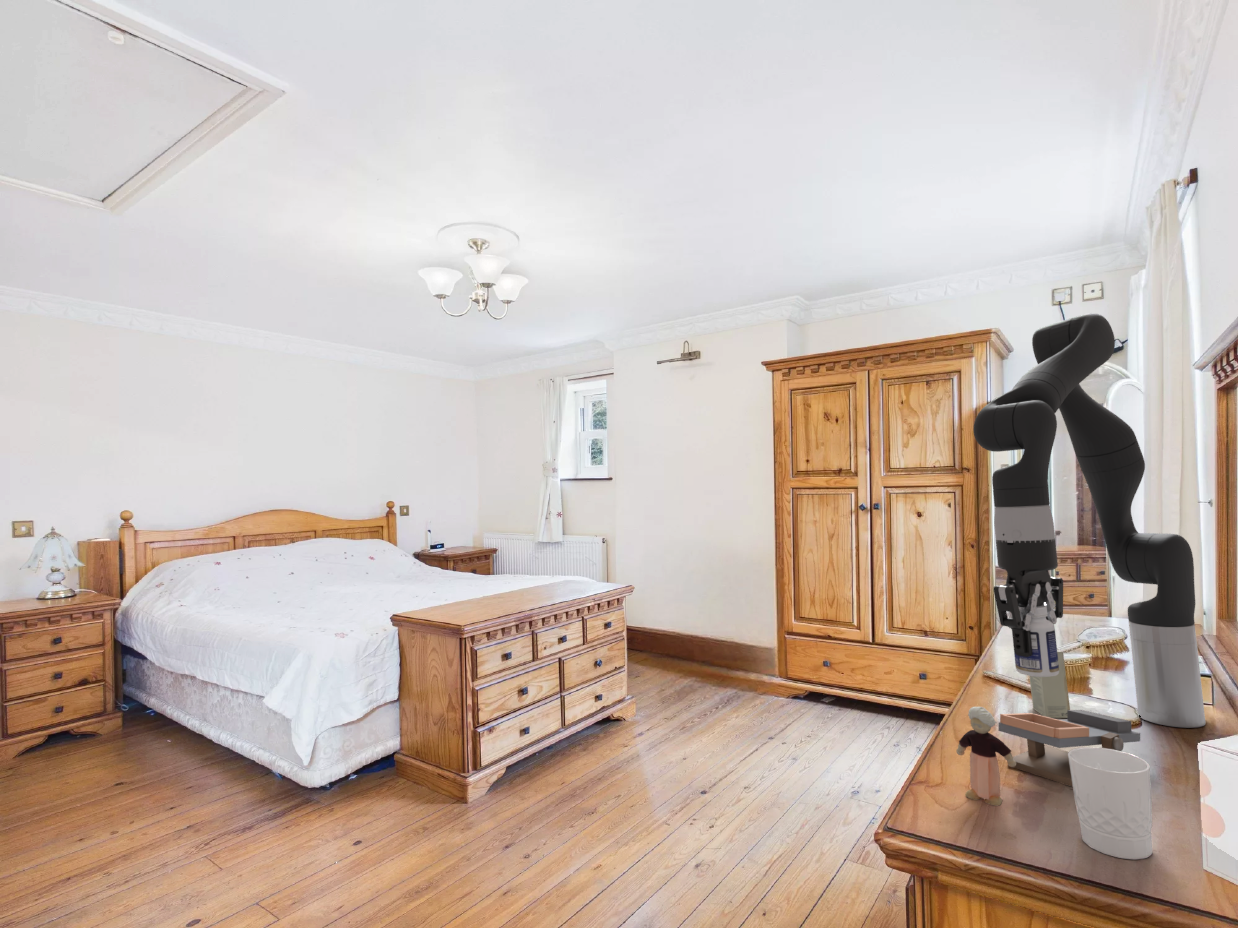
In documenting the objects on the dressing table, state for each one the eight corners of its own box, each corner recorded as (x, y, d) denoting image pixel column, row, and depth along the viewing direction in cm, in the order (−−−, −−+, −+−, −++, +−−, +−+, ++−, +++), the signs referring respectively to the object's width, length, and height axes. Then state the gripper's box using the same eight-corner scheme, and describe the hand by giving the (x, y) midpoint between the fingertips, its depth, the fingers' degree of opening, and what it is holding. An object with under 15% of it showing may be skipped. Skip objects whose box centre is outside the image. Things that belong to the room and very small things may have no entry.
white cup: (1164, 869, 72) (1155, 777, 72) (1078, 852, 76) (1069, 765, 77) (1152, 836, 78) (1143, 752, 79) (1073, 823, 83) (1066, 743, 83)
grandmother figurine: (954, 798, 91) (947, 706, 92) (961, 788, 94) (953, 699, 95) (1018, 812, 86) (1009, 715, 87) (1022, 801, 89) (1014, 707, 90)
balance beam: (1079, 726, 106) (1079, 708, 106) (1140, 741, 98) (1140, 722, 99) (998, 730, 96) (998, 711, 96) (1058, 747, 88) (1058, 726, 89)
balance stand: (1044, 750, 105) (1039, 706, 106) (1146, 780, 93) (1141, 730, 93) (1007, 765, 100) (1003, 719, 101) (1110, 799, 88) (1105, 746, 89)
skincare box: (1071, 718, 119) (1065, 651, 119) (1045, 718, 120) (1038, 652, 120) (1056, 708, 125) (1050, 644, 126) (1030, 707, 126) (1024, 644, 126)
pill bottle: (1046, 667, 97) (1040, 601, 98) (1067, 677, 92) (1060, 607, 92) (1008, 668, 98) (1002, 603, 98) (1027, 678, 92) (1020, 609, 93)
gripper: (1026, 533, 102) (1036, 641, 101) (970, 539, 96) (980, 655, 95) (1078, 533, 96) (1090, 649, 95) (1022, 540, 89) (1033, 665, 88)
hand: (1035, 651), depth 95 cm, fingers closed on pill bottle, 5 cm apart
